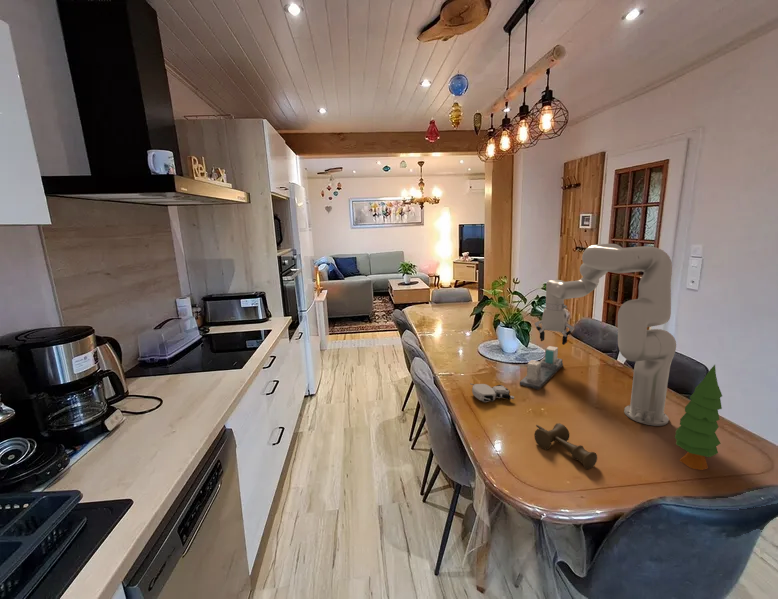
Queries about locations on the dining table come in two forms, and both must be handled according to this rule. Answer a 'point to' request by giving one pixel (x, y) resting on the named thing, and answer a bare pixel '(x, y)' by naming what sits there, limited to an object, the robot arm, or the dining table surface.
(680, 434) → the decorative tree
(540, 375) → the rail
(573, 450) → the kendama
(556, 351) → the cream block teal pad
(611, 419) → the dining table surface
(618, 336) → the robot arm
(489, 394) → the robot toy
